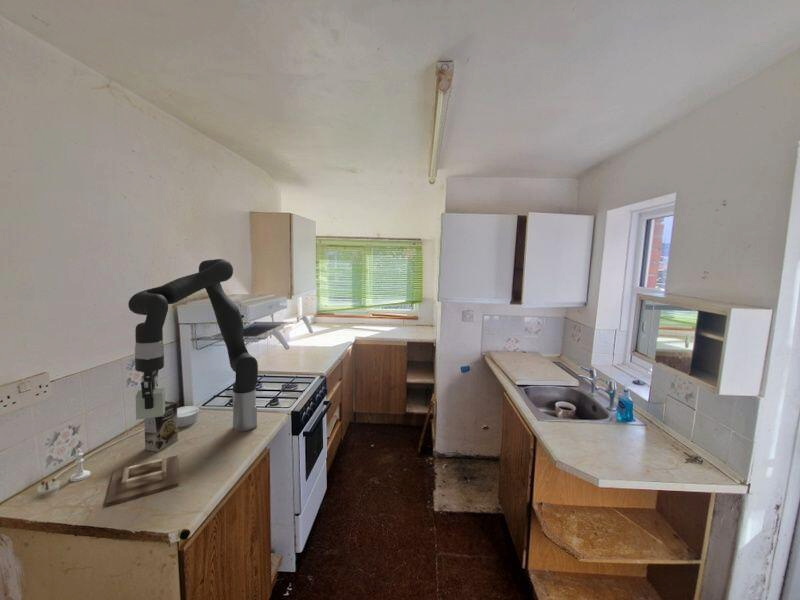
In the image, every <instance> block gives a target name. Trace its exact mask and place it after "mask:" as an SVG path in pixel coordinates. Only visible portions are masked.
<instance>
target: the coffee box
mask: <svg viewBox="0 0 800 600" xmlns="http://www.w3.org/2000/svg"><path fill="white" fill-rule="evenodd" d="M177 408H178V402H174V401H166V400H165V412H164V415H163V416H160V417H153V418H145V419H143V420H144V448H145V450H148V451H152V452H157V453H158V452H160V451H162V450H164V449H165V448H166V447H169V446H170V445H172V444H173V443H174V444H175V442H178V440H179V433H178V428H179V427H178V426H177Z"/></svg>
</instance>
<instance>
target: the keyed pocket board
mask: <svg viewBox="0 0 800 600" xmlns="http://www.w3.org/2000/svg"><path fill="white" fill-rule="evenodd" d="M178 460H179V457H178V455H177V454H176V455H173V456H168V457H164V458H159V459H156V460H152V461H147V462H143V463H138V464H135V465H131V466H126V467H123V468H118V469H115V470H113V475H112V478H111V481H110V486H109V488H108V489H109V490H108V492H107V496H106V500H105V507H107V506H111V505H115V504H118V503H122V502H125V501H128V500H132V499H136V498H139V497H144V496H147V495H150V494H154V493H156V492H157V493H158V492H161V491H164V490H169V489H171V488H175V487H178V486H179V461H178Z"/></svg>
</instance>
